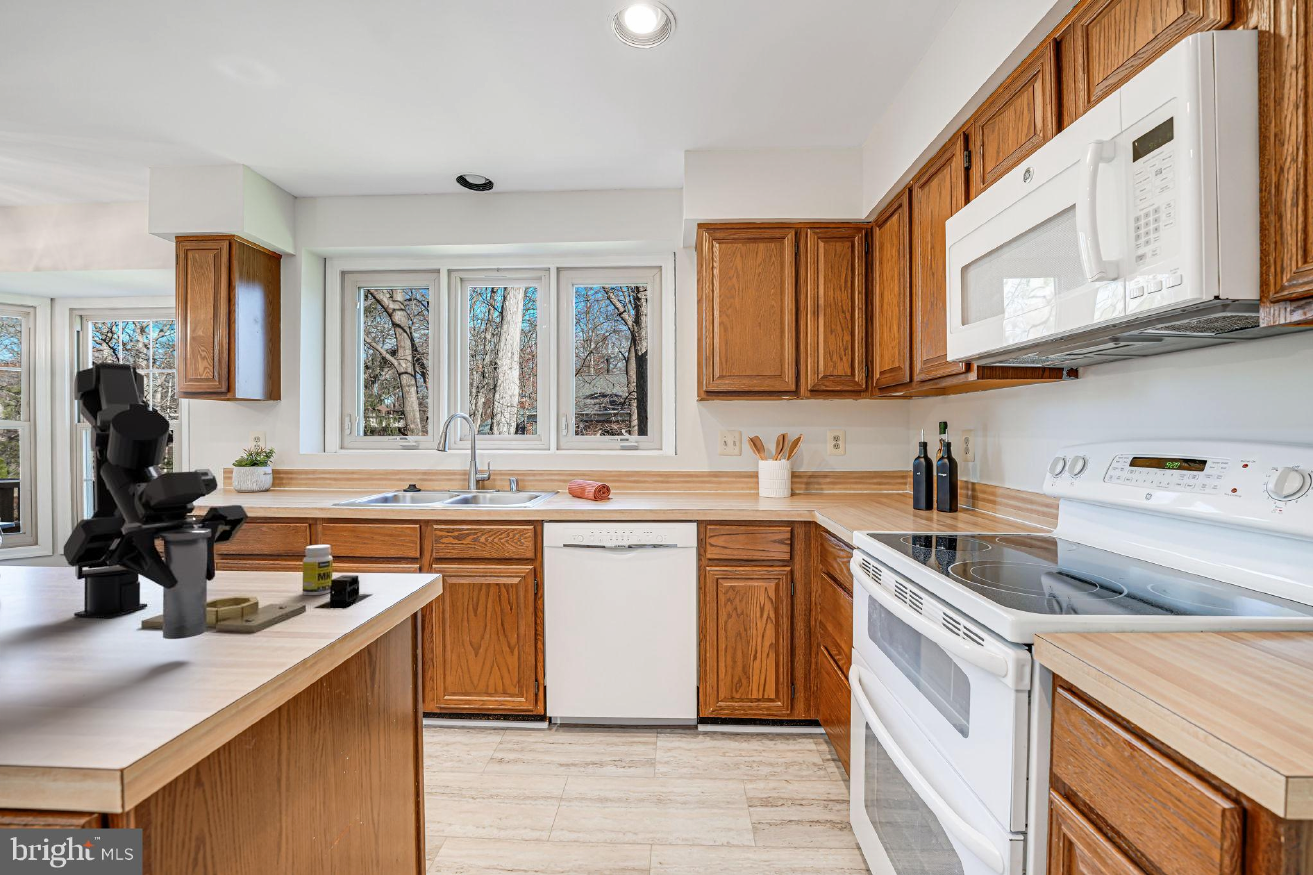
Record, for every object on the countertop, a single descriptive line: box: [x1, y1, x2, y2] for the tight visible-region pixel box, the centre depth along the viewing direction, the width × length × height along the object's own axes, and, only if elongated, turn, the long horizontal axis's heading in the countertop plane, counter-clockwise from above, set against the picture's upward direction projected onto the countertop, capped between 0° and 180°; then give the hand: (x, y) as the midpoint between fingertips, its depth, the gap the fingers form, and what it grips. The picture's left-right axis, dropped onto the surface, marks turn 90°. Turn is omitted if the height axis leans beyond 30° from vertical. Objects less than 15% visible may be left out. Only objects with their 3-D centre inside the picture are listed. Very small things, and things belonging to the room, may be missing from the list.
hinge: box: [140, 595, 307, 633], centre depth 95 cm, size 18×11×2 cm, turn 84°
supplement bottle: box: [302, 544, 334, 596], centre depth 112 cm, size 5×5×8 cm
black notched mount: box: [313, 574, 374, 610], centre depth 106 cm, size 12×7×5 cm, turn 178°
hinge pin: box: [159, 528, 211, 640], centre depth 78 cm, size 5×5×13 cm
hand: (192, 582), depth 78 cm, fingers closed on hinge pin, 4 cm apart
